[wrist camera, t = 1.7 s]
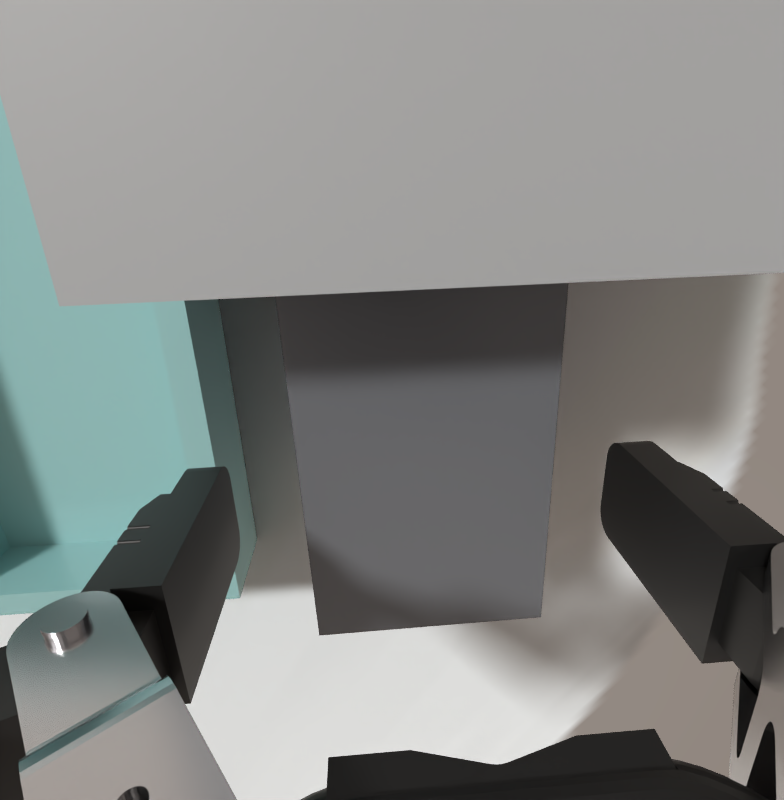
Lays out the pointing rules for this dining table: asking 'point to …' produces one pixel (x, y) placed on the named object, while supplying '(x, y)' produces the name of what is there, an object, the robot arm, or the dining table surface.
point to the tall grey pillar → (425, 450)
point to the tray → (97, 414)
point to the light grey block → (394, 143)
